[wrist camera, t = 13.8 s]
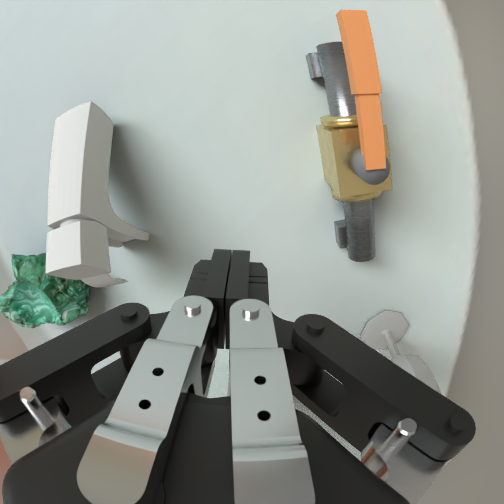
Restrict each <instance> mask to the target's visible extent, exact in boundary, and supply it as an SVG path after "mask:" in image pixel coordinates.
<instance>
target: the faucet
mask: <svg viewBox="0 0 504 504" xmlns="http://www.w3.org/2000/svg"><path fill="white" fill-rule="evenodd" d="M113 128H114V124H113V122H112V121H111V119H110V118H109V117H108V116H107V114H106V113H105V112H104V111H103V110H102V109H101V108H99V107H98V106H97V105H96V104H94V103H93V102H92V101H89V102H86V103H84V104H81V105H79V106H77V107H75V108H73V109H71V110H69V111H67V112H66V113H64V114H62V115H61V116H60V117H58V118H57V119H56V122H55V129H54V136H53V144H52V153H51V163H50V175H49V192H48V226H49V227H51V228H53V229H55V230H52V231H50V232H48V233H47V245H46V274H49V275H52V276H56V277H61V278H66V279H72V280H80V279H81V280H82V281H83V282H84V283H86V284H88V285H89V286H92V287H105V286H110V285H115V284H120V283H125V282H128V281H126V280H124V279H120V278H116V279H114V278H112V277H111V276H110V275H109V274H107V273H110V272H111V268H110V259H109V249H108V246H111V247H122V245H123V242H127V241H130V240H134V239H139V240H144V241H146V240H148V239H149V233H146V232H143V231H141V230H139V229H137V228H135V227H133V226H131V225H130V224H128V223H126V222H125V221H124V220H122V219H121V218H120V217H118V216H117V215H116V214H115V212H114V211H113V209H112V207H111V204H110V201H109V196H108V181H109V167H110V156H111V145H112V136H113Z"/></svg>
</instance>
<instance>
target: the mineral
mask: <svg viewBox="0 0 504 504" xmlns="http://www.w3.org/2000/svg"><path fill="white" fill-rule="evenodd" d="M12 269H13V271H14V277H15V278H16V281H15V282H13V285H11V286H9V287H8V290H7V291H6V292H5V293H3V294H2V295H1V297H0V311H1V312H2V313H3V314H4V315H5V317H6V318H8V319H10V320H11V321H13V322H15V323H17V324H18V325H20V326H22V327H29V328H35V327H37V326H39V325H41V324H45V323H56V324H57V325H65V324H66V323H68V322H70V321H73V320H75V319H76V318H77V317H79V316H83V315H85V314H86V313H87V312H88V310H89V307H88V305H87V304H86V302H87V301H88V300H89V289H90V287H89V286H88V285H87V284H86V283H84V282H83V281H82V280H81V279H80V280H72V279H66V278H61V277H56V276H52V275H49V274H46V253H42V254H39V255H37V256H36V255H29V256H24V255H15V254H13V255H12Z"/></svg>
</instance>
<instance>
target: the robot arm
mask: <svg viewBox="0 0 504 504" xmlns="http://www.w3.org/2000/svg"><path fill="white" fill-rule="evenodd" d="M249 259H250V251H245V250H233V252H232V250H224V249H214V252H213V256H212V259H211V260H200V261H199V262H198V263H197V264H196V265H194V268H193V271H192V274H191V277H190V280H189V282H188V285H187V288H186V291H185V294H184V297H183V298H180V299H178V300H177V301H176V302H175V303H174V304H173V306H172V308H171V310H170V311H169V312H165V313H158V314H150V313H149V310H148V308H147V307H146V306H144V305H142V304H139V303H126V304H122V305H120V306H118V307H116V308H114V309H112V310H110V311H108V312H106V313H104V314H102V315H100V316H98V317H96V318H94V319H92V320H90V321H87V322H85V323H83V324H81V325H79V326H77V327H75V328H73V329H71V330H69V331H67V332H65V333H63V334H61V335H59V336H57V337H56V338H54V339H52V340H50V341H48V342H46V343H44V344H42V345H40V346H38V347H36V348H34V349H32V350H30V351H28V352H26V353H24V354H22V355H20V356H18V357H16V358H14V359H12V360H10V361H8V362H6V363H4V364H2V365H0V439H1V441H2V443H3V446H4V448H5V450H6V453H7V455H8V457H9V459H10V462H11V464H12V465H11V467H10V468H9V469H8V471H7V473H6V475H5V478H4V481H3V486H2V495H3V502H4V504H416V503H417V502H418V500H419V499H420V498H421V497H422V495H423V494H424V493H425V491H426V490H427V489H428V487H429V486H430V485H431V483H432V482H433V481H434V479H435V478H436V476H437V475H438V473H439V472H440V470H441V469H442V468H443V467H444V466H445V465H446V464H447V463H448V462H449V461H451V460H452V459H453V458H454V457H455V456H456V455H457V454H458V453H459V452H460V451H461V450H462V449H463V448H464V447H465V446H466V445H467V444H468V443H469V442H470V441H471V440H472V439H473V437H474V435H475V430H476V427H475V422H474V420H473V418H472V416H471V415H470V414H469V413H468V412H467V411H466V410H464V409H463V408H461V407H460V406H458V405H457V404H455V403H453V402H452V401H451V400H449V399H447V398H446V397H444V396H443V395H441V394H440V393H438V392H437V391H435V390H434V389H432V388H431V387H429V386H428V385H426V384H425V383H423V382H422V381H420V380H419V379H417V378H416V377H414V376H413V375H411V374H410V373H408V372H407V371H405V370H404V369H402V368H401V367H399V366H398V365H396V364H395V363H393V362H392V361H390V360H389V359H387V358H386V357H384V356H383V355H381V354H380V353H378V352H377V351H375V350H374V349H372V348H371V347H369V346H368V345H367V344H365V343H364V342H362V341H361V340H359V339H358V338H356V337H355V336H353V335H352V334H350V333H349V332H347V331H346V330H344V329H343V328H341V327H340V326H338V325H337V324H336V323H334V322H333V321H331V320H330V319H328V318H326V317H324V316H321V315H317V314H307V315H303V316H301V317H299V318H298V319H296V321H295V323H294V322H290V321H286V320H283V319H281V318H279V317H277V316H276V315H274V314H273V313H272V311H271V308H270V307H269V293H268V275H267V268H266V267H265V266H264V265H263V264H262V263H256V262H249ZM225 335H226V349H229V383H228V394H227V397H219V398H207V395H208V391H209V387H210V383H211V379H212V375H213V371H214V367H215V357H216V354H217V348H219V349H224V343H225ZM118 351H120V355H121V358H119V359H117V360H116V361H114V362H112V363H110V364H109V365H107V366H105V367H103V368H102V369H100V370H98V371H96V372H95V373H93V374H91V370H92V368H93V366H94V365H95V364H97V363H98V362H100V361H102V360H104V359H105V358H107V357H109V356H111V355H113V354H114V353H116V352H118ZM325 370H326V371H327V372H328V373H330V374H331V375H332V376H333V377H335V378H336V379H337V380H339V381H340V382H341V383H342V384H343V385H342V384H341V383H340V382H339V381H337V380H336V379H335V378H333V377H332V376H331V375H330V374H328V373H327V372H326V371H325ZM292 394H293V395H294V396H295V397H296V398H297V399H298V400H299V401H300V402H302V403H303V404H304V405H305V406H306V407H307V408H308V409H310V410H311V411H312V412H313V413H314V414H315V415H317V416H318V417H319V418H320V419H321V420H322V421H324V422H325V423H326V424H327V425H328V426H329V427H331V428H332V429H333V430H334V431H335V432H337V433H338V434H339V435H340V436H341V437H343V438H344V439H345V440H346V441H348V442H349V443H350V444H351V445H352V446H354V447H355V448H356V449H357V450H359V451H360V452H361V461H359V460H358V459H357V458H356V457H355V456H354V455H352V454H351V453H350V452H349V451H348V450H347V449H346V448H344V447H343V446H342V445H341V444H340V443H339V442H338V441H337V440H335V439H334V438H333V437H332V436H331V435H330V434H329V433H328V432H327V431H326V430H324V429H323V428H322V427H321V426H320V425H319V424H318V423H317V422H316V421H315V420H313V419H312V418H311V417H309V416H308V415H306V414H304V413H303V412H301V411H299V410H296V409H295V407H294V402H293V396H292Z"/></svg>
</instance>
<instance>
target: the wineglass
mask: <svg viewBox="0 0 504 504" xmlns="http://www.w3.org/2000/svg"><path fill="white" fill-rule="evenodd" d="M408 326H409V324H408V322H407V321H406V319H405V318H404V316H403V314H402V313H401V312H396V311H389V310H384V311H382V312H381V313H379V314H378V315H376V316H375V317H373V318H372V319H370V320H369V321H368V322H367V324H366V326H365V327H364V329H363V331H362V333H361V335H360V338H361V339H362V340H363V341H364V343H365V344H367V345H368V346H369V347H371V348H373V349H386V348H389V351H390V353H391V355H392V357H393V360H392V362H393V363H395V364H396V365H398V366H399V367H401V368H402V369H404V370H405V371H407V372H408V373H410V374H411V375H413V376H414V377H416V378H417V379H419V380H420V381H422V382H423V383H425V384H426V385H428V386H429V387H431V388H432V389H434V390H435V391H437V392H438V393H440V394H441V392H440V389H439V386H438V384H437V382H436V380H435V378H434V376H433V374H432V372H431V371H430V369H429V367H428V366H427V365H426V364H425V363H424V361H423V360H422V359H421V358H420V357H419V356H415V355H400V353H399V351H398V349H397V347H396V345H395V343H396V342H397V341H399V340H400V339H401V337H402V336H403V334H404V332H405V331H406V329H407V327H408Z"/></svg>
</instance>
